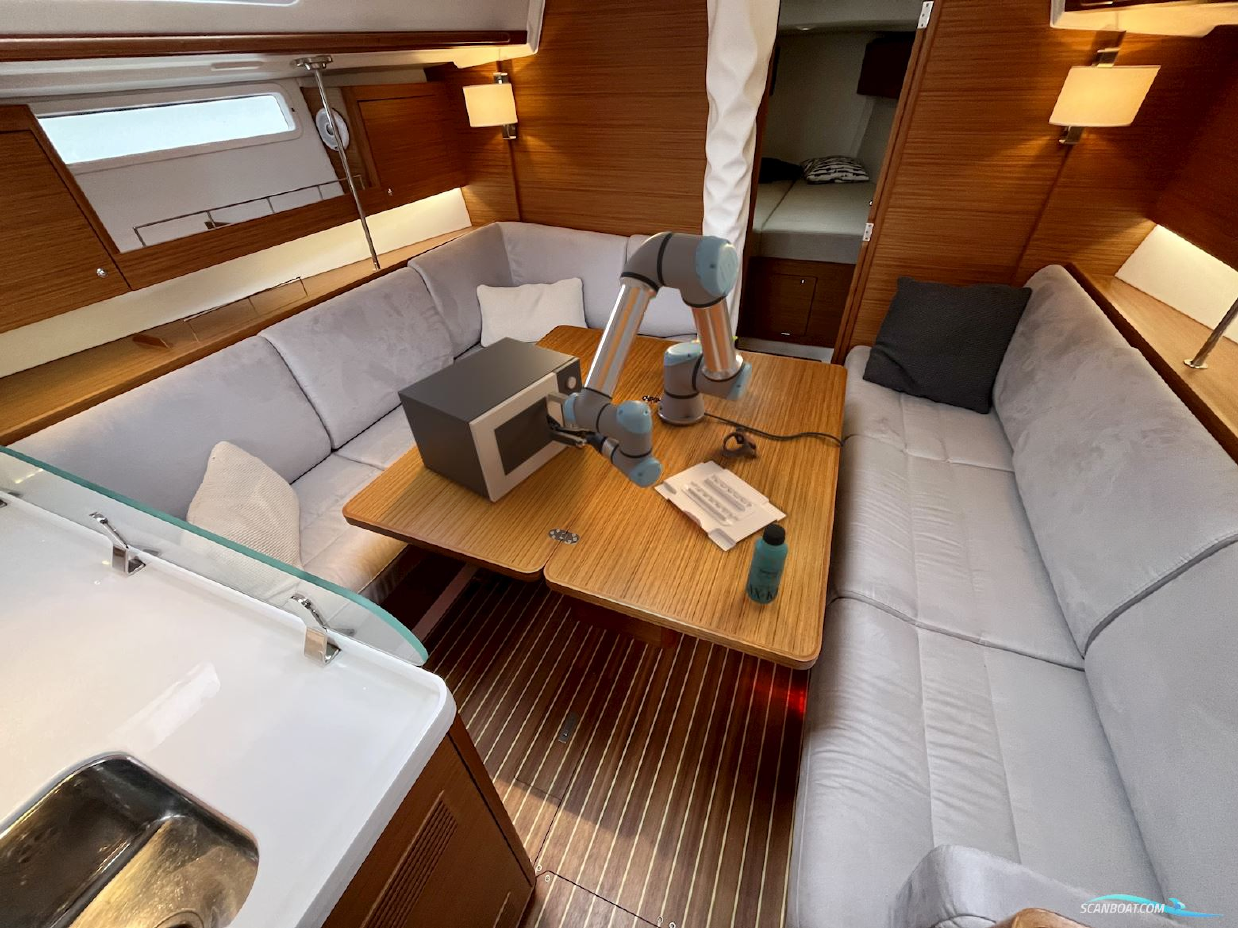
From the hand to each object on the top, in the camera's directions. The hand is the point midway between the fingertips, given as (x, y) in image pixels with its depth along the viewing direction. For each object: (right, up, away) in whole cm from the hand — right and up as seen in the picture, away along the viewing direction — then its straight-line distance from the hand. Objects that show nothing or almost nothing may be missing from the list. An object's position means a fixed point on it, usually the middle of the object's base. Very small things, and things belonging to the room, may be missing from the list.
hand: (569, 410), depth 137 cm
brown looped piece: (+49, -12, +7) cm, 51 cm away
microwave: (-20, -10, +15) cm, 27 cm away
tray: (+39, -25, -8) cm, 47 cm away
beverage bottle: (+43, -43, -32) cm, 69 cm away
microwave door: (-9, -18, +3) cm, 21 cm away
